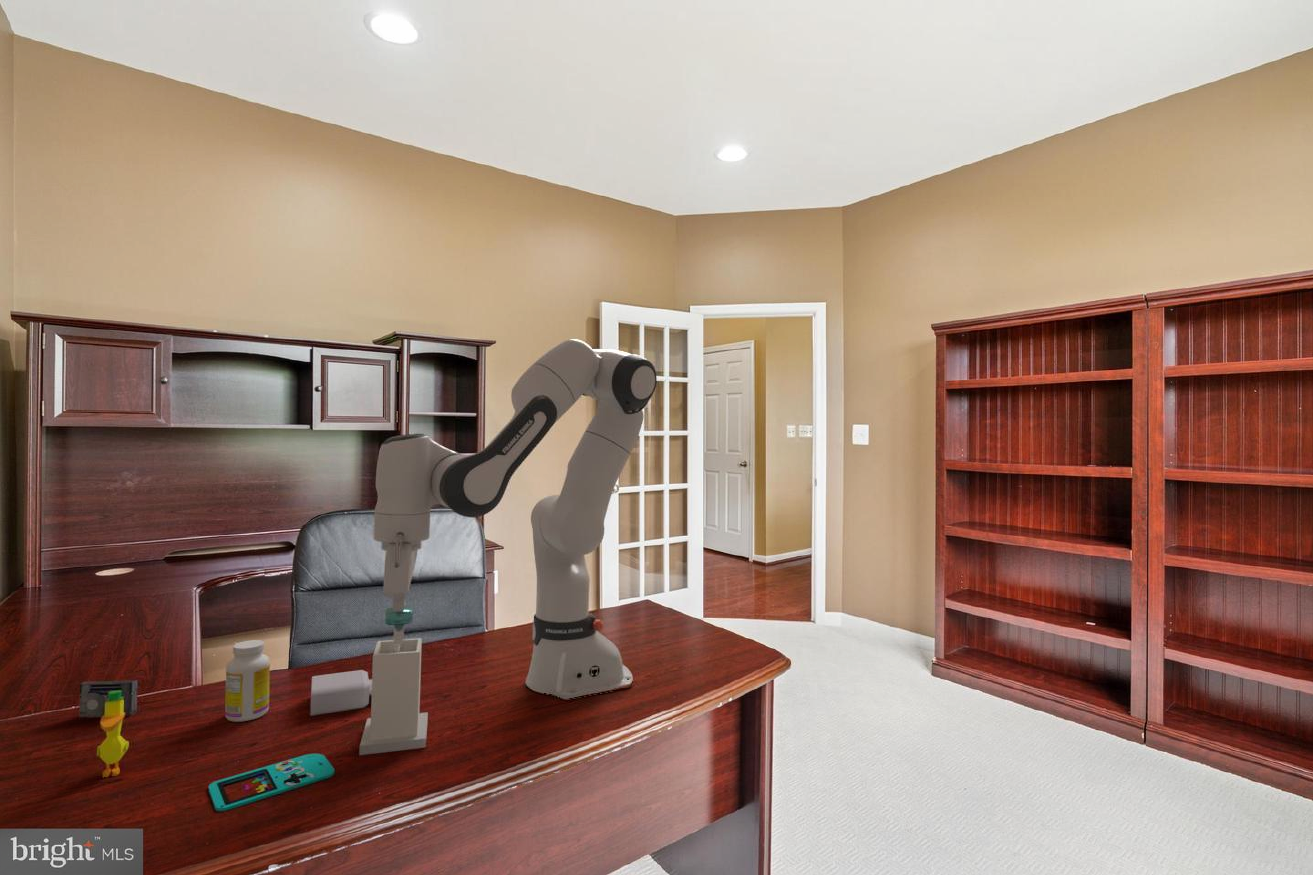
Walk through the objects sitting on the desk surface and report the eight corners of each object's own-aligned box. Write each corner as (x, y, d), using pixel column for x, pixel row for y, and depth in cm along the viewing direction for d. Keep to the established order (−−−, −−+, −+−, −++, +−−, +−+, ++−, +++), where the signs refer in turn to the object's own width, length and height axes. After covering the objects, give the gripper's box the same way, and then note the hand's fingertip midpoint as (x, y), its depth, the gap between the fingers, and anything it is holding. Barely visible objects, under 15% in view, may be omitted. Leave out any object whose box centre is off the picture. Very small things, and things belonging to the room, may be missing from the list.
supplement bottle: (269, 704, 118) (271, 636, 118) (267, 718, 112) (270, 647, 112) (226, 710, 115) (228, 640, 115) (222, 726, 109) (224, 652, 109)
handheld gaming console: (336, 770, 95) (217, 808, 85) (336, 777, 95) (216, 816, 85) (320, 748, 101) (207, 782, 91) (320, 755, 101) (207, 789, 91)
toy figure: (122, 782, 91) (124, 699, 91) (89, 788, 89) (91, 704, 89) (130, 760, 97) (133, 683, 97) (100, 766, 95) (102, 687, 95)
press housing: (427, 720, 114) (430, 635, 114) (425, 747, 104) (428, 654, 104) (367, 726, 111) (369, 638, 110) (359, 755, 101) (362, 659, 101)
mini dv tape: (136, 712, 113) (137, 679, 113) (131, 716, 112) (132, 682, 112) (85, 714, 112) (86, 680, 112) (78, 717, 110) (79, 683, 110)
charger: (399, 704, 120) (310, 718, 113) (394, 686, 128) (311, 698, 122) (400, 679, 120) (310, 692, 113) (395, 663, 128) (312, 674, 122)
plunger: (413, 673, 110) (415, 605, 110) (411, 684, 106) (413, 613, 106) (383, 675, 109) (385, 606, 109) (380, 686, 104) (382, 614, 104)
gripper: (419, 538, 98) (415, 627, 98) (424, 520, 118) (421, 593, 118) (375, 539, 96) (371, 629, 96) (387, 520, 116) (384, 595, 116)
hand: (399, 609), depth 107 cm, fingers closed, pressing on plunger
